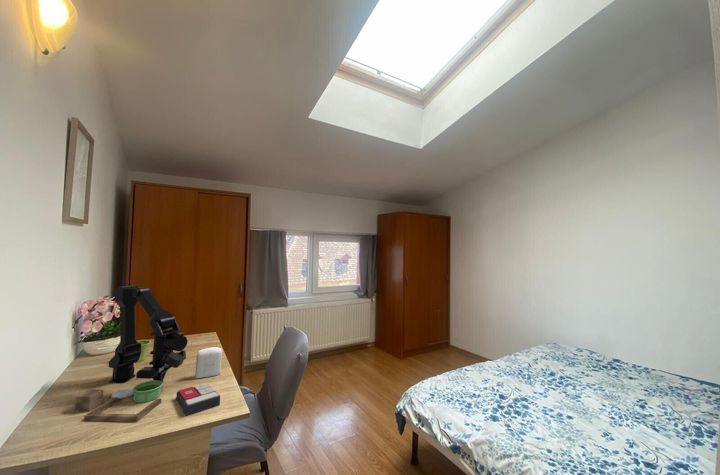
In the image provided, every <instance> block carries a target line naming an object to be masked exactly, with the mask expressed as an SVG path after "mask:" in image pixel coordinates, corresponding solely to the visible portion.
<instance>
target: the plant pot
mask: <svg viewBox="0 0 720 475" xmlns="http://www.w3.org/2000/svg"><path fill="white" fill-rule="evenodd" d="M136 341H137V342H138V343H141V351H142V352H141V355H140V357H139V360H138V362H135V363H134V364H136V363H141V362H143V361H144V360H146V357H147V353H148V349H149V346H150V344H151V342H152V341H151V340H150V339H140V340H136Z"/></svg>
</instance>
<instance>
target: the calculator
mask: <svg viewBox="0 0 720 475" xmlns="http://www.w3.org/2000/svg"><path fill="white" fill-rule="evenodd" d="M175 397H176V401H177V403H178V405H179V407H181V409H182V411H183V414H184V415H185V417H189V416H192V415H195V414H197V413H198V414H199V413H201V412H203V411H207V410H209V409H212V408H216V407H219V406H220V405H221V395H220V394H219V393H218V392H217V391H216V390H215V389H214V388H213V387H212V386H211V385H210V384H209V383H208V382H204V383H200V384H197V385H194V386H189V387H186V388H182V389H178V391H176V396H175Z"/></svg>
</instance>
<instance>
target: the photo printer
mask: <svg viewBox="0 0 720 475" xmlns="http://www.w3.org/2000/svg"><path fill="white" fill-rule="evenodd" d="M222 357H223V350H222V348H221V347H217V346H216V347H215V346H214V347H213V346H212V347H205V348H202V349H200V350H198V351H197V355H196V361H195V372H194V378H195V379H202V378H203V379H204V378H208V377H214V376H218V375H220V374H221V370H222V361H223V360H222V359H223V358H222Z"/></svg>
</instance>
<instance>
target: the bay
mask: <svg viewBox="0 0 720 475" xmlns="http://www.w3.org/2000/svg"><path fill="white" fill-rule="evenodd" d="M117 403H119V399H118V397H114V398H110V399H109V400H108V401H106V402H105V403H104V402H103V404H101V405H99V406H98V407H96V408H94V409H93V410H91V411H90V412H87V414H85V415H84V417H83V421H86V422H87V421H90V422H93V421H94V422H124V423H126V422H127V423H128V422H129V423H130V422H132V423H135V422H136V423H137V422H139V421H140V420H142V419H143V418H144V417H145V416H146V415H148V414H149V413H150V412H152V411H153V410H154V409H155V408H156V407H157V406H159V405H160V404H162V398H156V399H154V400H152V402H151V403H149V404H148V405H146V406H145V407H144V408H143V409H142V410H140V411H138V412H137V413H136V414H135V413H133V414H132V413H105V412H104V411H106V410H108V409H109V408H111V407H113V405H115V404H117ZM102 412H104V413H102Z"/></svg>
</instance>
